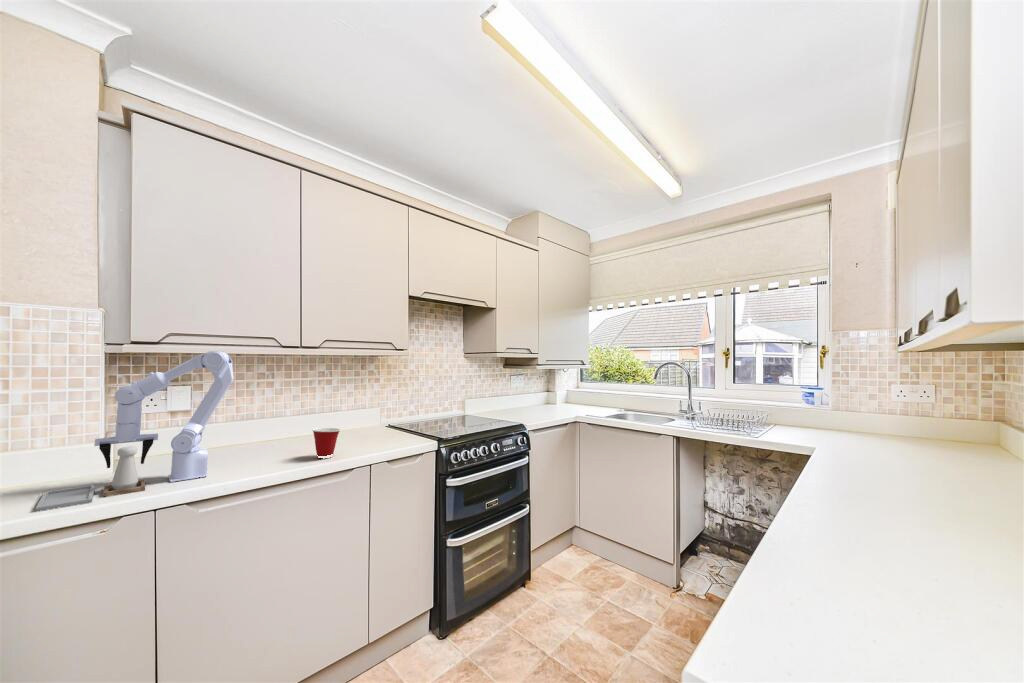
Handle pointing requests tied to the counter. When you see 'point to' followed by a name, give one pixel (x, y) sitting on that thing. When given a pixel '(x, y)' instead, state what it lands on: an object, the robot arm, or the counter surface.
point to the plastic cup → (325, 440)
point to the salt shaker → (125, 469)
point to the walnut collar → (124, 489)
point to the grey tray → (66, 497)
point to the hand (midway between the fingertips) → (125, 465)
